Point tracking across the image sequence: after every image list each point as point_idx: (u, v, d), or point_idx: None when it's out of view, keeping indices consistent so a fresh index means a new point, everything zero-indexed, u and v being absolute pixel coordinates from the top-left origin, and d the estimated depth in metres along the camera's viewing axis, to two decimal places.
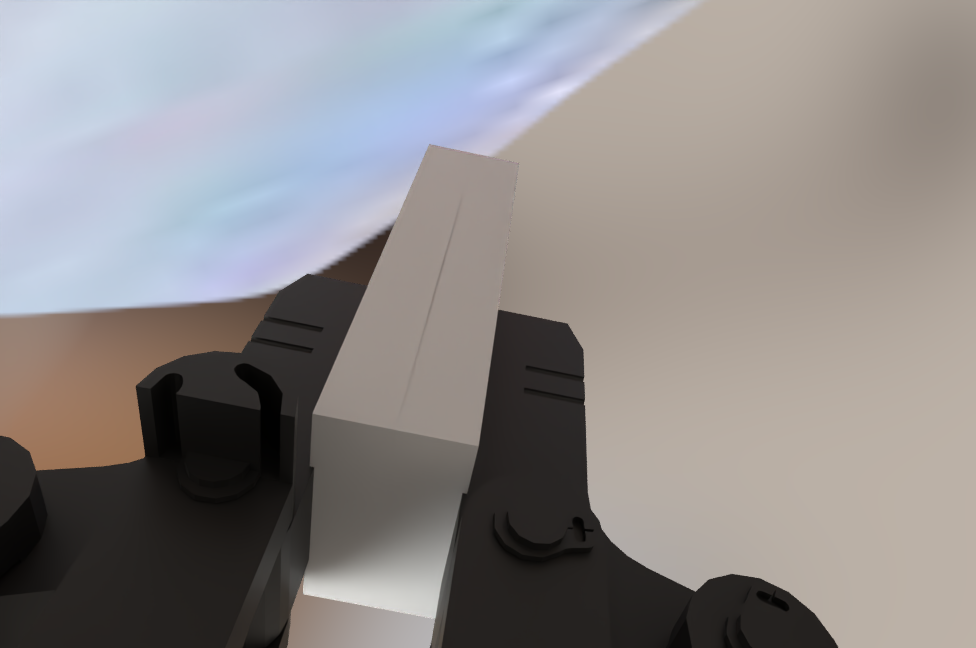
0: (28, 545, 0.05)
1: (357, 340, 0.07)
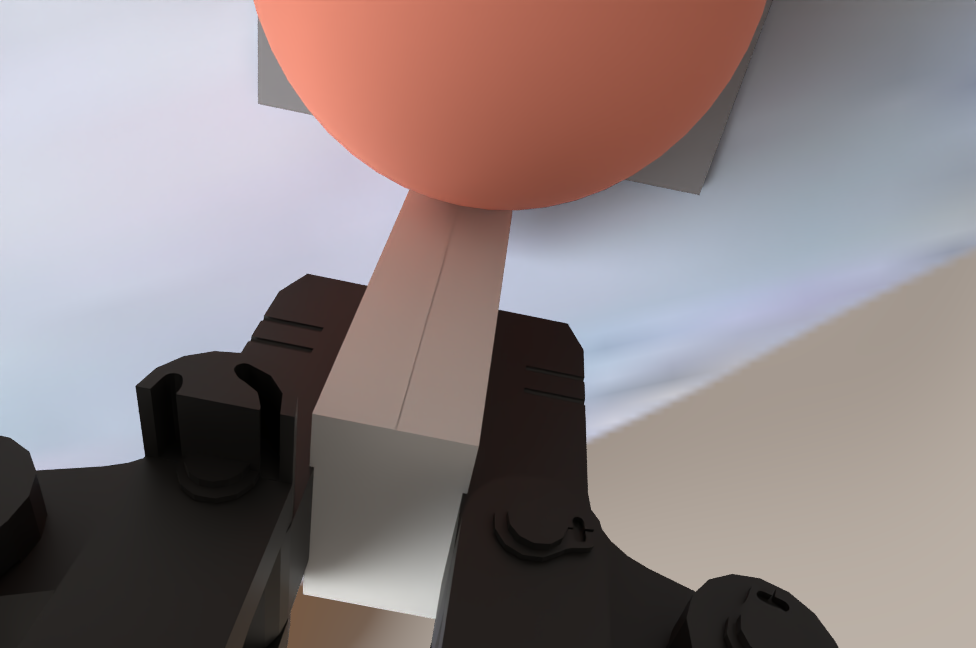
0: (27, 545, 0.05)
1: (358, 340, 0.07)
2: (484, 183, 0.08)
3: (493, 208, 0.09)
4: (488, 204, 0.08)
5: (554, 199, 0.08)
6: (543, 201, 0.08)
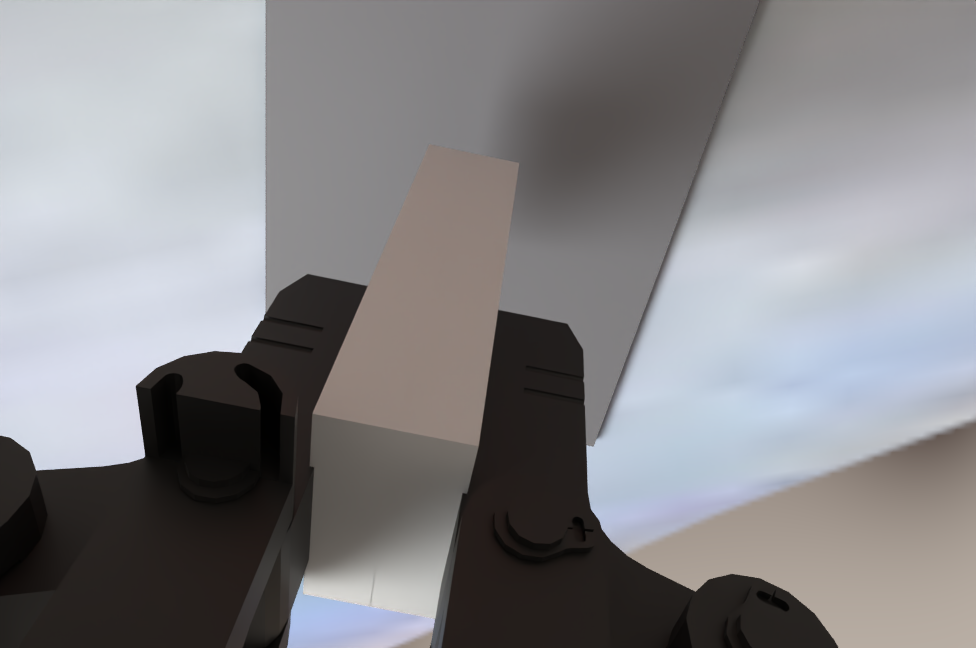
0: (27, 545, 0.05)
1: (357, 341, 0.07)
2: None
3: None
4: None
5: None
6: None
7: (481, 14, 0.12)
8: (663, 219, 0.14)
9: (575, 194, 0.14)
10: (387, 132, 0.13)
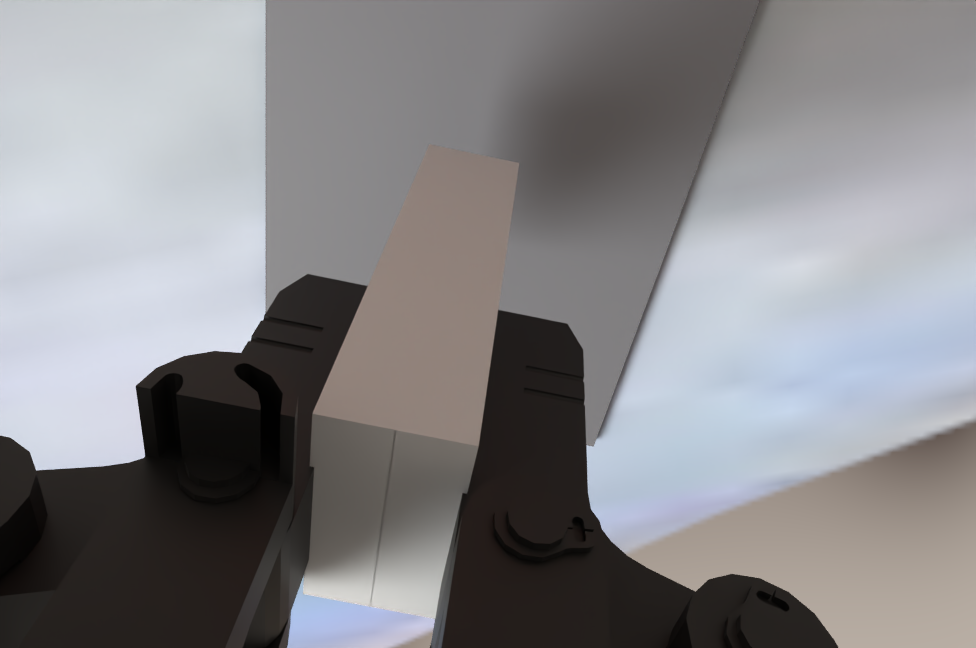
0: (28, 545, 0.05)
1: (357, 340, 0.07)
2: None
3: None
4: None
5: None
6: None
7: (481, 14, 0.12)
8: (663, 219, 0.14)
9: (575, 194, 0.14)
10: (387, 132, 0.13)
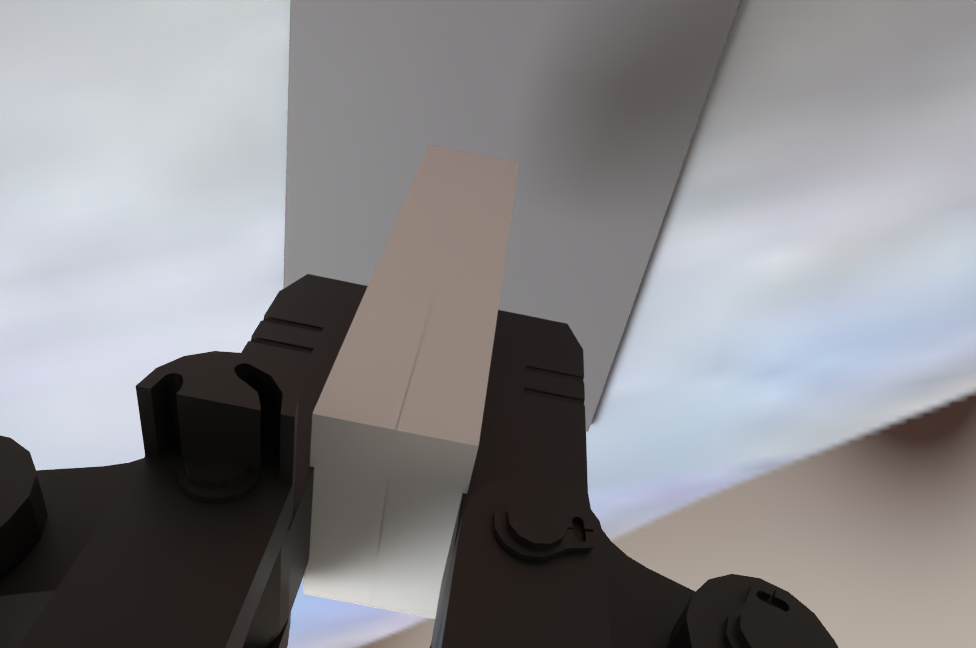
0: (28, 545, 0.05)
1: (357, 340, 0.07)
2: None
3: None
4: None
5: None
6: None
7: (484, 30, 0.13)
8: (650, 216, 0.15)
9: (570, 193, 0.15)
10: (398, 137, 0.15)
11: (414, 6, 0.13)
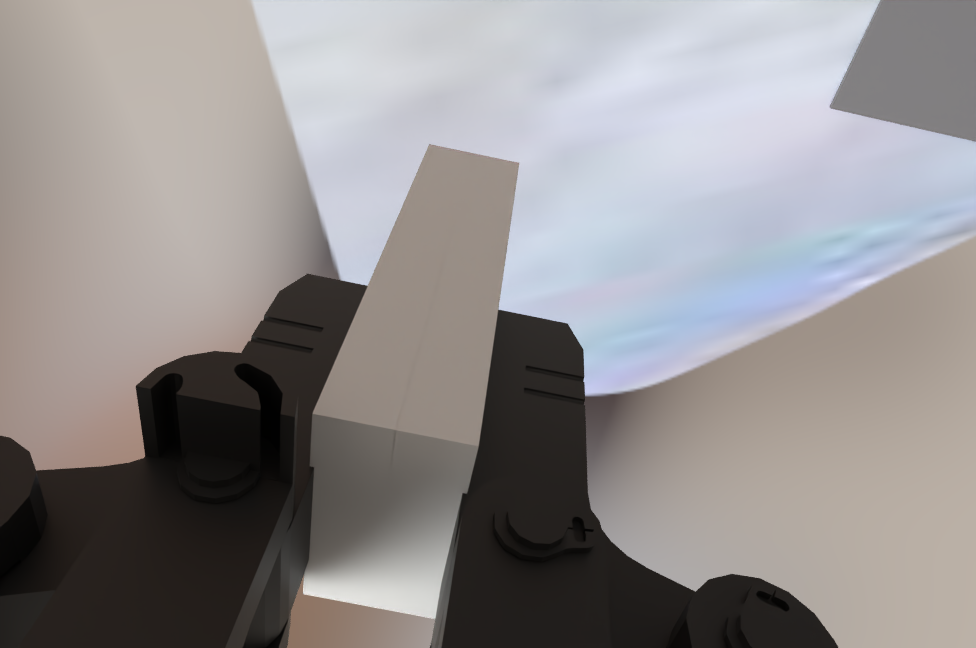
0: (27, 545, 0.05)
1: (357, 340, 0.07)
2: None
3: None
4: None
5: None
6: None
7: None
8: None
9: None
10: None
11: None
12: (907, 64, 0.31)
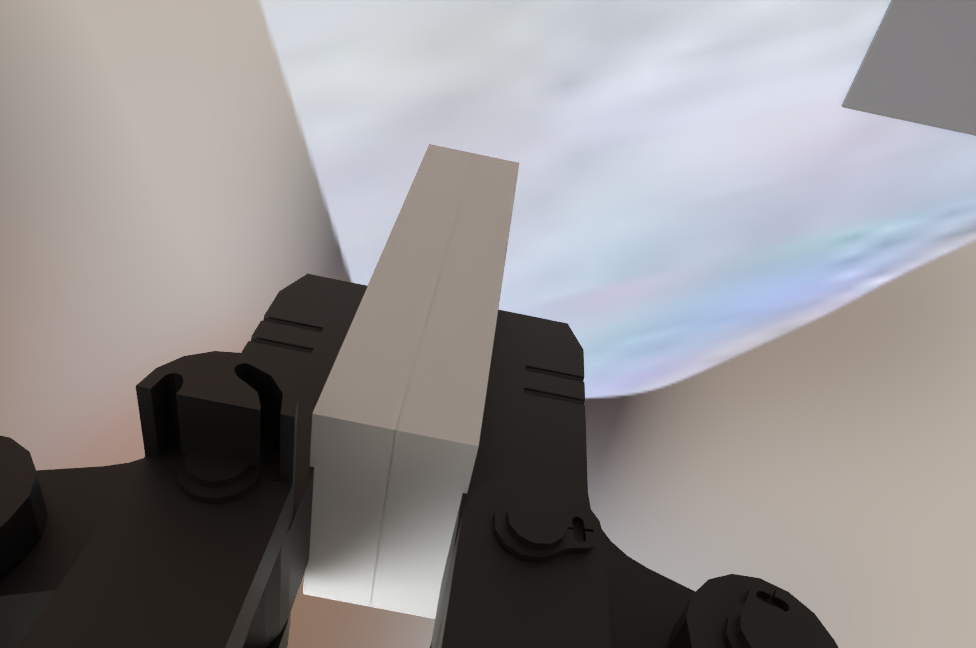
0: (28, 545, 0.05)
1: (358, 341, 0.07)
2: None
3: None
4: None
5: None
6: None
7: None
8: None
9: None
10: None
11: None
12: (920, 62, 0.31)
